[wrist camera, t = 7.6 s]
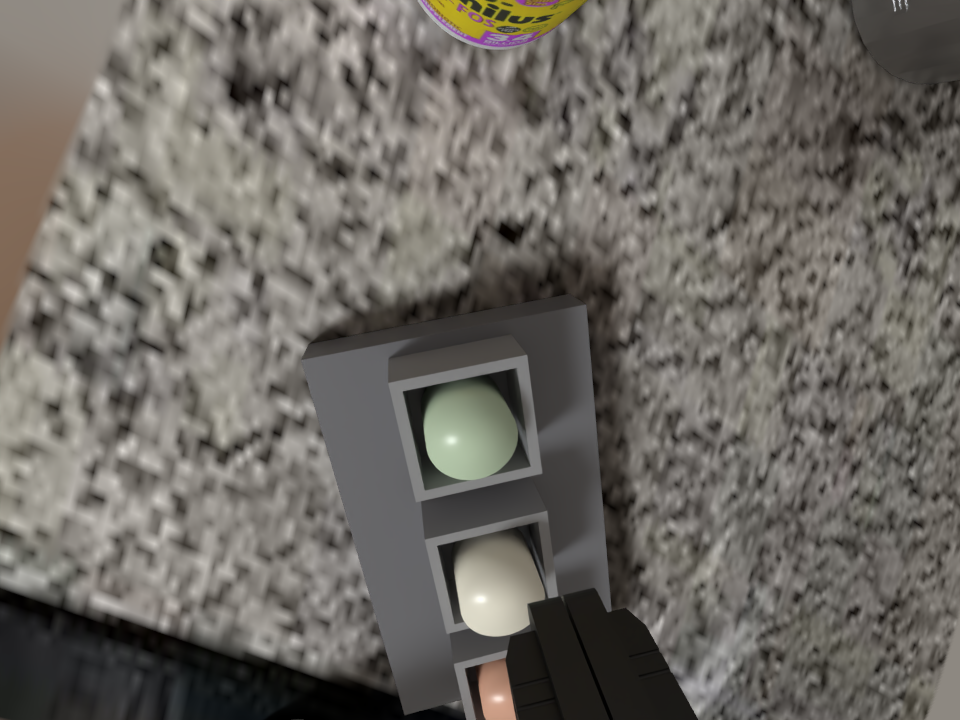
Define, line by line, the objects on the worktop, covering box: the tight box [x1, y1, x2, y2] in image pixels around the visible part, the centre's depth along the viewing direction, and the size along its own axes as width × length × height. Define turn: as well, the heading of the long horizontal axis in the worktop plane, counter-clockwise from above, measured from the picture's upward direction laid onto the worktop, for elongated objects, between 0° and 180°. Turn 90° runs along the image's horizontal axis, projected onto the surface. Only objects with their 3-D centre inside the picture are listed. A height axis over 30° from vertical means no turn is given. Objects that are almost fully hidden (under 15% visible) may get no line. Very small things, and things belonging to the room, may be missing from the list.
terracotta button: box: [475, 658, 516, 720], centre depth 24 cm, size 3×3×3 cm
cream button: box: [452, 527, 545, 636], centre depth 21 cm, size 3×3×3 cm
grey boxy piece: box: [301, 294, 612, 720], centre depth 23 cm, size 11×19×4 cm, turn 9°
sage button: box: [421, 374, 518, 480], centre depth 19 cm, size 3×3×3 cm
